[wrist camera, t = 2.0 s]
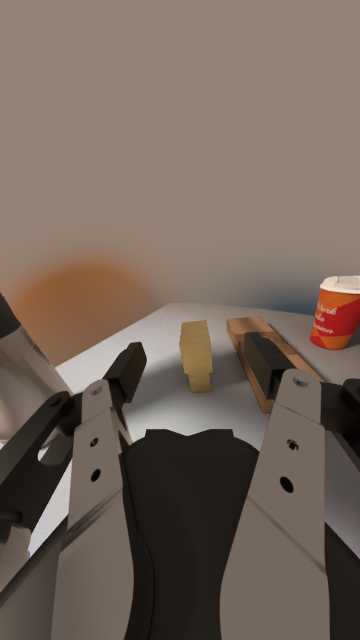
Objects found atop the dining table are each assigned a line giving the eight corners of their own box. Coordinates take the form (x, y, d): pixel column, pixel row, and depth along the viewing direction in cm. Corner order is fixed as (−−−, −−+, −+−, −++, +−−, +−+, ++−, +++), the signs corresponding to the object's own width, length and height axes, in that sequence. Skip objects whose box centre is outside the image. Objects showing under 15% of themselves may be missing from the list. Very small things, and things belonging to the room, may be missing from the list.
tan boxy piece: (188, 393, 25) (179, 345, 21) (188, 364, 32) (182, 322, 27) (213, 392, 25) (210, 342, 20) (209, 363, 31) (206, 320, 26)
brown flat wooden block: (262, 412, 21) (265, 397, 19) (226, 329, 42) (226, 319, 41) (330, 412, 20) (339, 396, 18) (258, 326, 41) (259, 316, 39)
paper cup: (302, 330, 36) (317, 276, 30) (344, 335, 32) (373, 274, 26) (307, 349, 31) (327, 285, 24) (360, 357, 27) (400, 285, 20)
